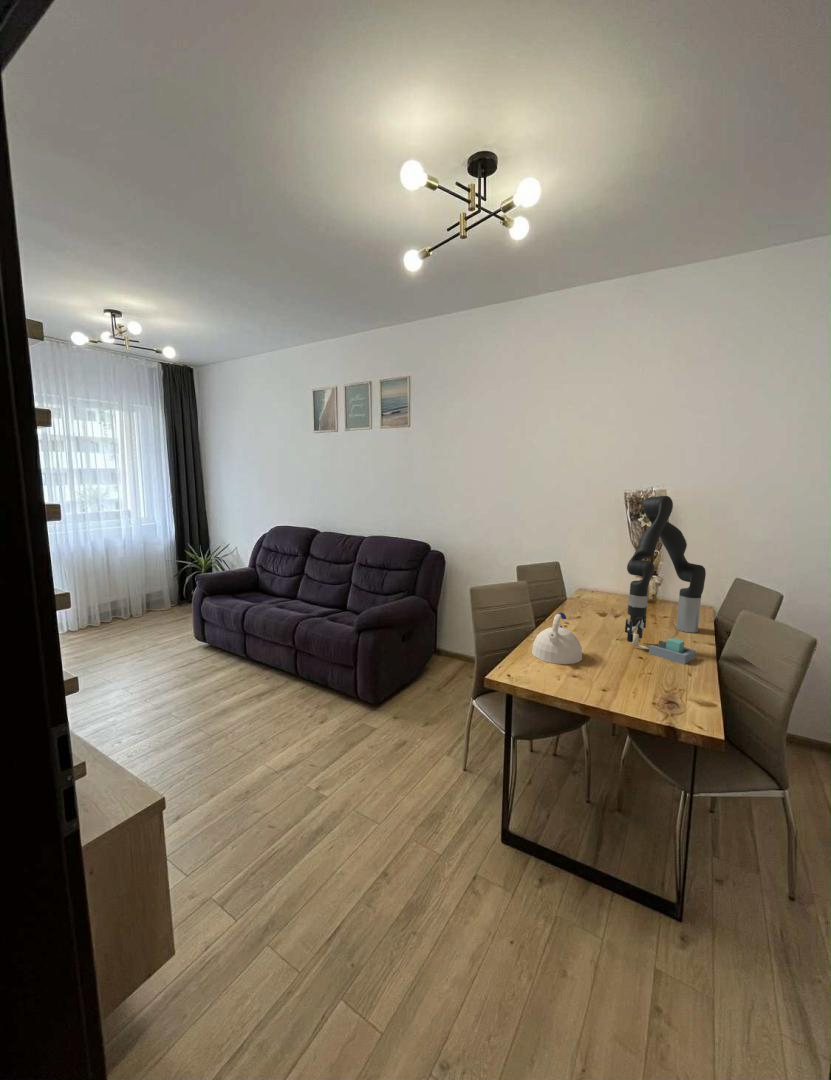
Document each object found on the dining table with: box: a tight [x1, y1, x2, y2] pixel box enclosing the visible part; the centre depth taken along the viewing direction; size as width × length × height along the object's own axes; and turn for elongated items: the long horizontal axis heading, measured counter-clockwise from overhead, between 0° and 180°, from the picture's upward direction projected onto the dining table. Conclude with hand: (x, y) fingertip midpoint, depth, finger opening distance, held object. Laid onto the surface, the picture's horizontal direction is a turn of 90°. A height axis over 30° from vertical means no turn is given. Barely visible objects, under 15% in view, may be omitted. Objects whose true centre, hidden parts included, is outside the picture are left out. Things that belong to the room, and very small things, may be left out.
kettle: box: [531, 612, 583, 665], centre depth 187 cm, size 20×21×18 cm
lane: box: [648, 640, 696, 665], centre depth 188 cm, size 10×14×4 cm
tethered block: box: [631, 632, 686, 654], centre depth 193 cm, size 5×20×7 cm, turn 38°
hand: (634, 639), depth 200 cm, fingers open, 8 cm apart
